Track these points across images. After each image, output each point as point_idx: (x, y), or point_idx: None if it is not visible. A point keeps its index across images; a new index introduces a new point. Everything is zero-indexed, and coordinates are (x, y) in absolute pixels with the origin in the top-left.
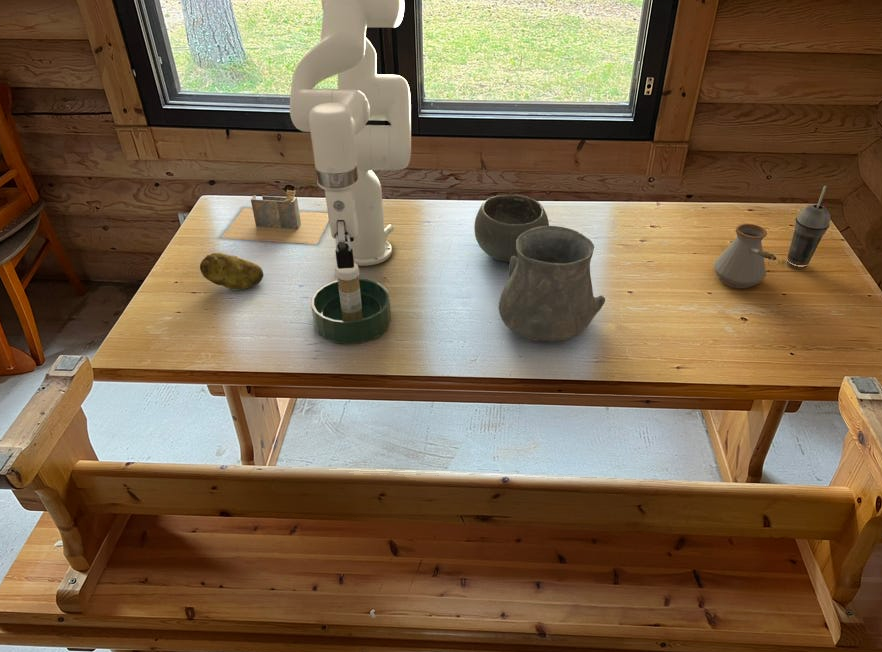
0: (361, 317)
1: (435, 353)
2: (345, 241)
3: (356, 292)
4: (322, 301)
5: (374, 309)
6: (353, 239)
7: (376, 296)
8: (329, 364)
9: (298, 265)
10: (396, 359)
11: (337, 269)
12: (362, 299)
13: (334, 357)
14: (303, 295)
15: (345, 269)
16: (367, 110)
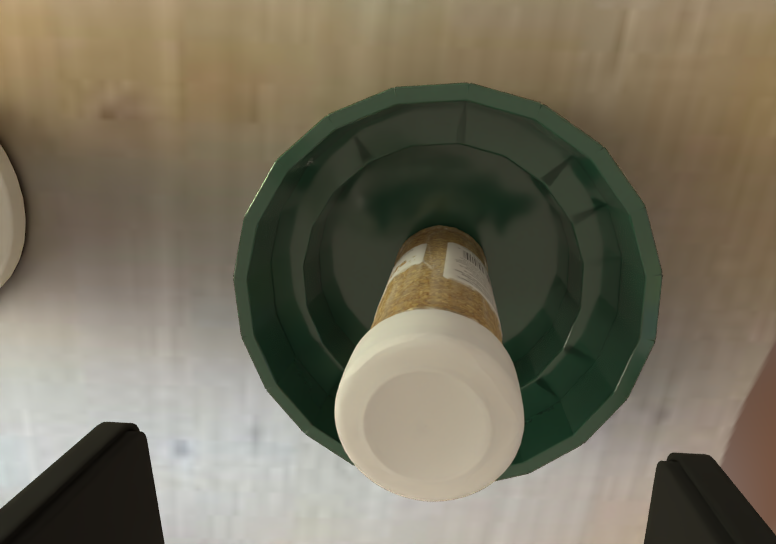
0: (460, 236)
1: None
2: (153, 501)
3: (487, 296)
4: None
5: (369, 171)
6: (121, 432)
7: (334, 161)
8: (716, 365)
9: (49, 454)
10: (766, 74)
11: (455, 496)
12: (319, 228)
13: (673, 345)
14: (241, 443)
15: (469, 440)
16: None
